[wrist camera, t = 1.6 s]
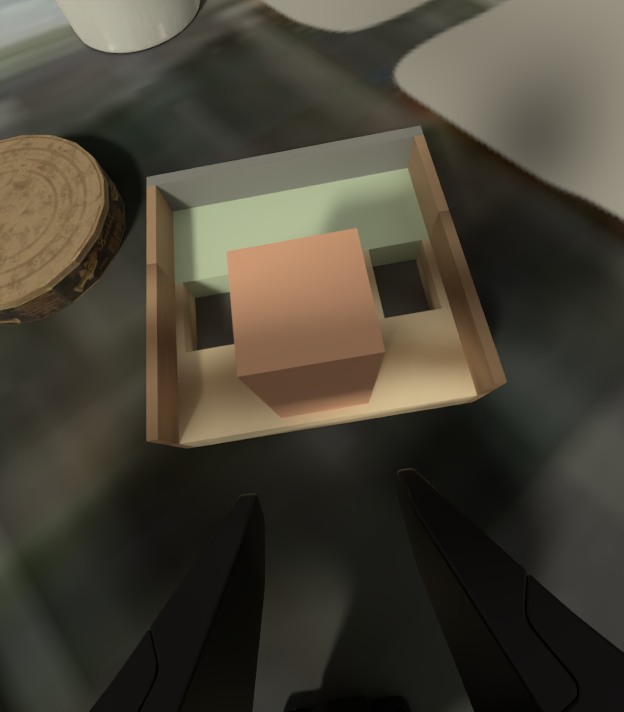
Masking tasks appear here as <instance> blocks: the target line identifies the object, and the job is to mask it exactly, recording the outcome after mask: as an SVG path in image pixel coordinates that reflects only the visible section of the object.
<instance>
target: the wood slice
mask: <svg viewBox="0 0 624 712" xmlns="http://www.w3.org/2000/svg"><path fill="white" fill-rule="evenodd" d="M124 230H125V211H124V202H123V200H122V198H121V196H120V194H119V192H118V190H117V188H116V186H115V184H114V182H113V181H112V180H111V179H110V177H109V176H108V175H107V174H106V172H105V171H104V170H103V169H102V167H101V166H100V165H99V163H98V162H97V161H96V160H95V158H94V157H93V156H92V155H90V154H89V153H88V152H87V151H85V150H84V149H83V148H82V147H80V146H79V145H78V144H77V143H75V142H72V141H69V140H66V139H63V138H59V137H56V136H53V135H22V136H18V137H14V138H10V139H5V140H1V141H0V325H1V326H14V325H19V324H23V323H27V322H31V321H36V320H40V319H44V318H46V317H48V316H49V315H51V314H53V313H55V312H57V311H59V310H61V309H63V308H65V307H67V306H68V305H70V304H72V303H74V302H75V301H76V300H77V299H79V298H80V297H81V296H82V295H83V294H84V293H85V292H86V291H88V290H89V289H90V288H91V287H92V286H93V285H94V284H95V283H97V282H98V281H99V280H100V278H101V277H102V275H103V274H104V272H105V271H106V270H107V268H108V267H109V265H110V264H111V262H112V261H113V259H114V258H115V256H116V255H117V252H118V249H119V246H120V243H121V240H122V236H123V233H124Z"/></svg>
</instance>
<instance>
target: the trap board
mask: <svg viewBox="0 0 624 712" xmlns="http://www.w3.org/2000/svg"><path fill="white" fill-rule="evenodd" d="M362 253H363V257H364V261H365V266H366V270H367V274H368V279H369V283H370V287H371V292H372V296H373V300H374V305H375V309H376V314H377V318H378V322H379V327H380V331H381V335H382V340H383V344H384V348H385V354H384V357H383V361H382V364H381V367H380V370H379V373H378V376H377V379H376V382H375V385H374V388H373V391H372V394H371V397H370V400H369V403H368V404H365V405H358V406H352V407H346V408H340V409H334V410H328V411H322V412H316V413H310V414H304V415H298V416H292V417H285V418H281V417H280V416H279V415H278V414H276V413H275V412H274V411H273V410H272V409H271V408H270V407H269V406H268V405H267V404H266V403H265V402H264V401H262V400H261V399H260V398H259V397H258V396H257V395H256V394H255V393H254V392H253V391H252V390H251V389H250V388H248V387H247V386H246V385H245V384H244V383H243V382H242V381H241V380H240V379H239V378H238V377H237V370H236V358H235V346H234V334H233V322H232V311H231V299H230V292H227V293H221V294H216V295H210V296H204V297H199V298H195V297H194V296H193V295H192V294H191V293H190V291H189V290H188V289H187V288H186V287H185V285H184V284H183V283H177V284H174V282H173V281H172V280H171V279H170V278H169V277H168V276H167V274H166V273H165V272H164V271H163V270H162V269H161V268H160V267H159V265H158V264H157V263H153V264H148V265H147V355H146V441H147V442H152V443H158V444H164V445H169V446H175V447H181V448H186V449H188V448H194V447H200V446H206V445H213V444H219V443H225V442H231V441H237V440H243V439H249V438H256V437H262V436H268V435H274V434H280V433H286V432H292V431H299V430H305V429H311V428H317V427H323V426H329V425H335V424H342V423H348V422H354V421H360V420H366V419H372V418H378V417H384V416H391V415H397V414H403V413H409V412H415V411H421V410H427V409H434V408H440V407H446V406H452V405H458V404H464V403H470V402H474V401H476V400H477V399H479V398H481V397H482V396H484V395H486V394H488V393H489V392H491V391H493V390H494V389H496V388H498V387H500V386H501V385H503V384H505V383H507V381H506V378H505V375H504V372H503V369H502V366H501V363H500V360H499V357H498V354H497V351H496V348H495V345H494V342H493V339H492V336H491V333H490V330H489V327H488V324H487V321H486V318H485V315H484V313H483V310H482V307H481V304H480V301H479V298H478V295H477V292H476V289H475V286H474V283H473V280H472V277H471V274H470V271H469V268H468V265H467V262H466V259H465V256H464V253H463V250H462V247H461V244H460V241H459V238H458V235H457V233H456V230H455V227H454V224H453V221H452V218H451V215H450V212H449V210H447V211H441V212H439V213H438V215H437V218H436V221H435V224H434V227H433V229H432V232H431V235H430V238H429V239H424V240H421V243H420V246H419V249H418V252H417V256H416V259H414V260H408V261H402V262H397V263H391V264H385V265H380V266H374V267H372V263H371V259H370V255H369V250H362Z"/></svg>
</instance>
